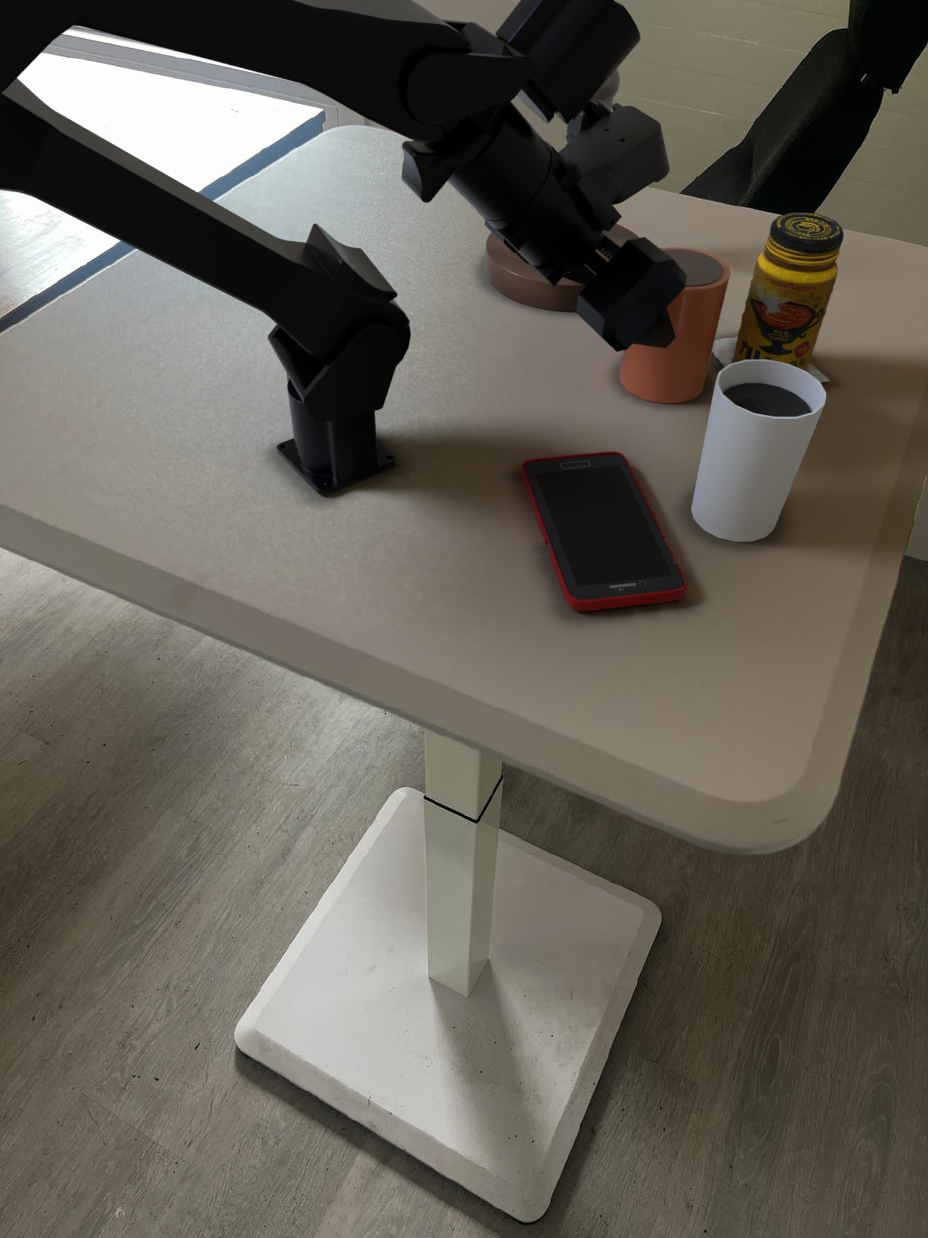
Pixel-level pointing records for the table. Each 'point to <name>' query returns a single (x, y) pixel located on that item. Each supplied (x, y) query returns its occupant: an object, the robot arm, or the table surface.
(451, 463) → the table surface
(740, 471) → the white coffee cup
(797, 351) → the condiment
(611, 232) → the towel holder
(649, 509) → the cell phone
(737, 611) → the table surface
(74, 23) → the robot arm
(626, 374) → the cup
